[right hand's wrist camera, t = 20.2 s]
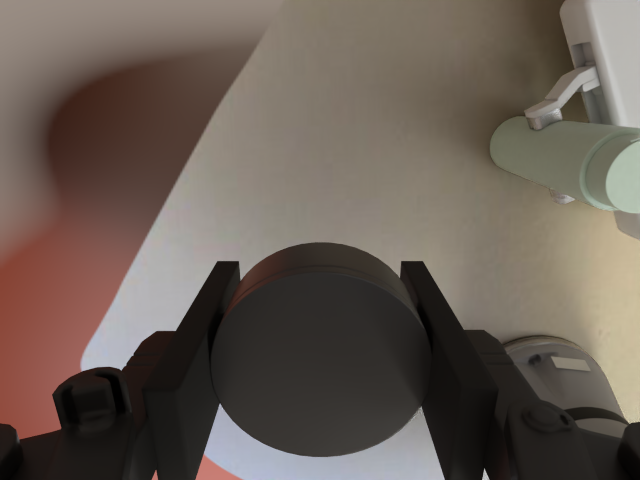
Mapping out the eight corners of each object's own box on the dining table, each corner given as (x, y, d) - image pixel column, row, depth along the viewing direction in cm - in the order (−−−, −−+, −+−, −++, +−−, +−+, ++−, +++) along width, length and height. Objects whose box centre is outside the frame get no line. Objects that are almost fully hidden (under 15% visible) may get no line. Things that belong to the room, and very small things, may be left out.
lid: (293, 202, 11) (287, 226, 9) (454, 307, 12) (480, 348, 10) (193, 350, 13) (170, 396, 11) (343, 431, 14) (347, 486, 12)
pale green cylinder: (549, 158, 38) (697, 199, 23) (497, 179, 38) (607, 232, 23) (536, 106, 36) (686, 114, 21) (482, 129, 37) (591, 152, 22)
